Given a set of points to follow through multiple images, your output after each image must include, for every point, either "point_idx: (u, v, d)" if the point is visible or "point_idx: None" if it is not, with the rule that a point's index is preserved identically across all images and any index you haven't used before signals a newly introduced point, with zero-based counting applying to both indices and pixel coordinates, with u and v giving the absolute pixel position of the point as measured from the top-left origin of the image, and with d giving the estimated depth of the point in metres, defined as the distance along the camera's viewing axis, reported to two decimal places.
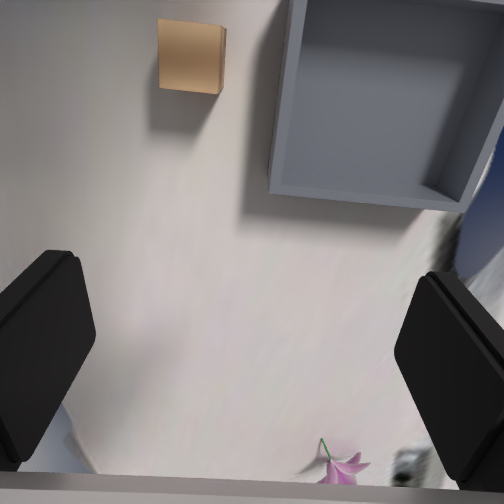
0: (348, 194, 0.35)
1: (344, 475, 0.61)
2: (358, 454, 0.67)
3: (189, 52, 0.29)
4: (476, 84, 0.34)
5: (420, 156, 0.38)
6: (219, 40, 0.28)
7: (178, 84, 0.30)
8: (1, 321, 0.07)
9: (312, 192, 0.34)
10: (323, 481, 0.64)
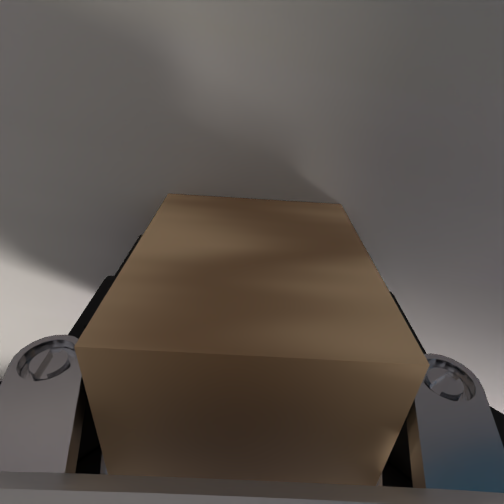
0: None
1: None
2: None
3: (267, 461, 0.06)
4: None
5: None
6: None
7: (122, 421, 0.06)
8: None
9: None
10: None
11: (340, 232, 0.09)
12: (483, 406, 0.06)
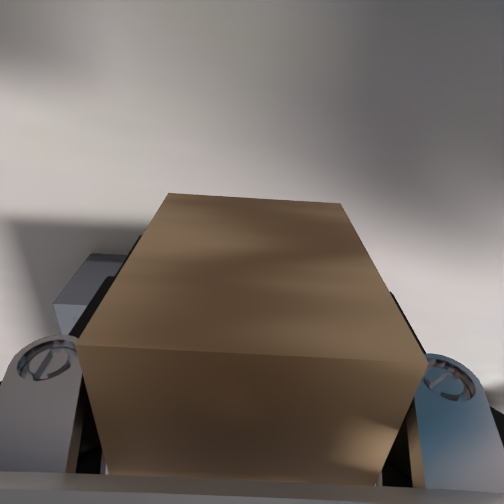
0: None
1: None
2: None
3: (268, 459, 0.06)
4: None
5: None
6: None
7: (122, 419, 0.06)
8: None
9: None
10: None
11: (340, 231, 0.09)
12: (483, 406, 0.06)
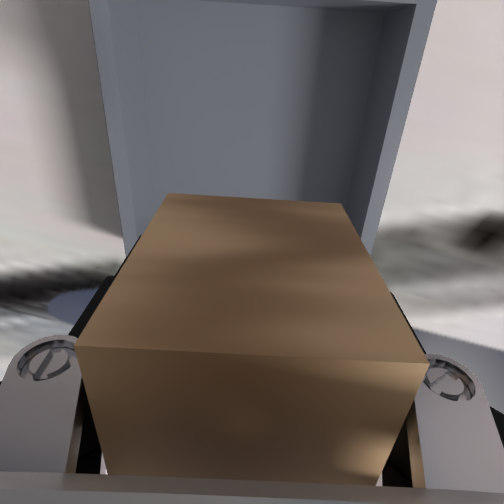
0: (118, 122, 0.21)
1: None
2: None
3: (268, 460, 0.06)
4: None
5: None
6: None
7: (121, 421, 0.06)
8: None
9: (106, 56, 0.19)
10: None
11: (340, 231, 0.09)
12: (483, 406, 0.06)
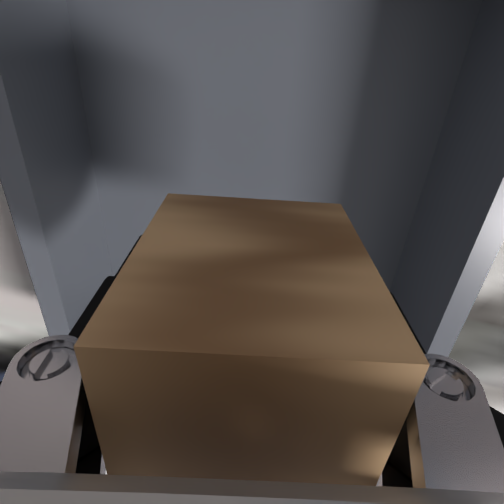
0: (19, 168, 0.12)
1: None
2: None
3: (267, 461, 0.06)
4: None
5: None
6: None
7: (121, 421, 0.06)
8: None
9: None
10: None
11: (340, 232, 0.09)
12: (483, 406, 0.06)
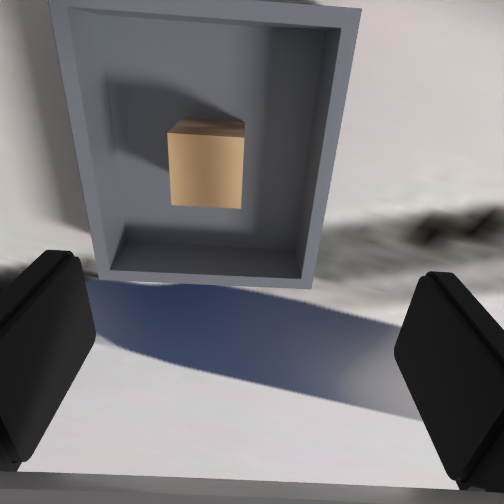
0: (82, 129, 0.23)
1: None
2: None
3: (212, 174, 0.24)
4: (236, 248, 0.34)
5: (157, 215, 0.32)
6: (226, 206, 0.25)
7: (175, 158, 0.23)
8: (1, 321, 0.07)
9: (69, 70, 0.22)
10: None
11: (239, 125, 0.26)
12: None
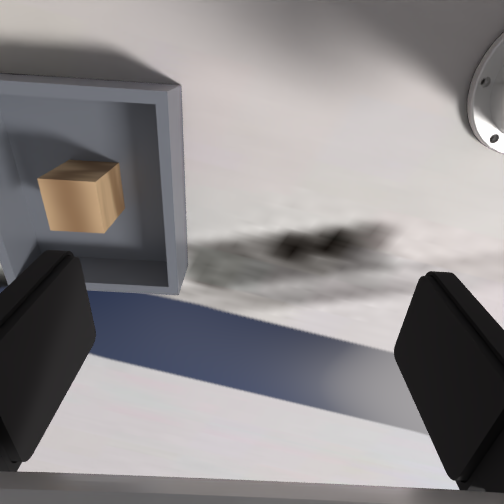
0: None
1: None
2: None
3: (76, 208, 0.32)
4: (129, 260, 0.41)
5: (61, 234, 0.40)
6: (93, 231, 0.33)
7: (46, 196, 0.31)
8: (1, 321, 0.07)
9: None
10: None
11: (108, 167, 0.34)
12: None
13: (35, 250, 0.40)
